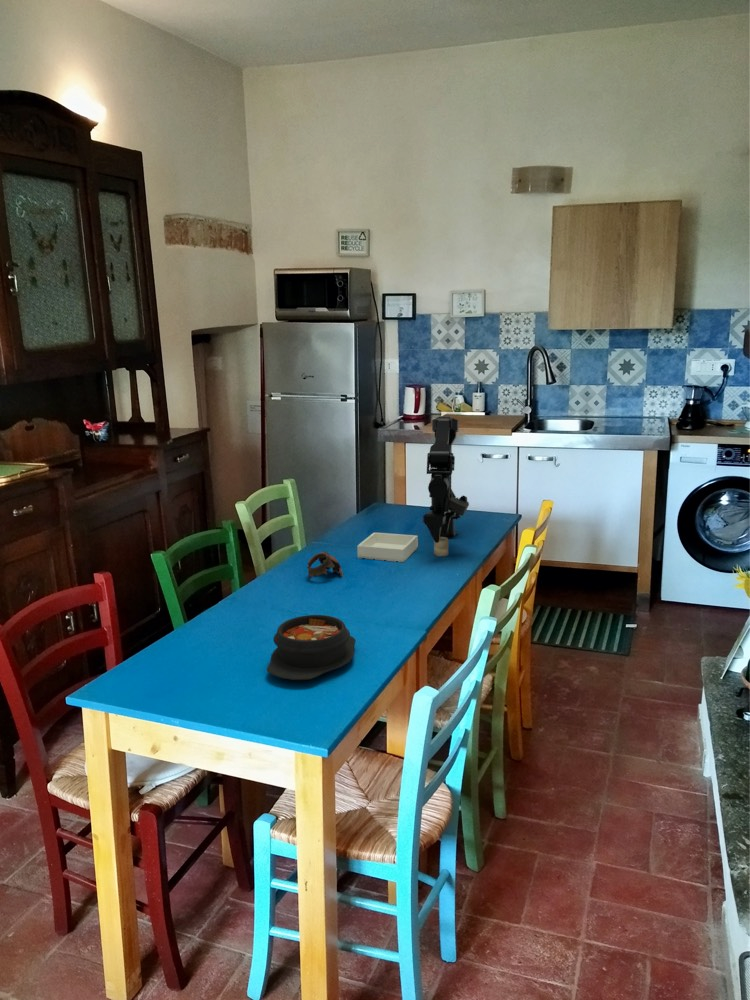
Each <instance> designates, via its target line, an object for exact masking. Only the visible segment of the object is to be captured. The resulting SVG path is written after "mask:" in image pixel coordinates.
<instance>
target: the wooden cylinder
mask: <svg viewBox="0 0 750 1000" xmlns="http://www.w3.org/2000/svg"><path fill="white" fill-rule="evenodd" d="M433 554H434V556H435V555H436V556H435V557H441V556H442V557H447V556H449V538H446V537H440V539H439V542H438V543H436V542H435V541H434V540H433Z"/></svg>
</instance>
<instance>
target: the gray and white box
mask: <svg viewBox="0 0 750 1000" xmlns="http://www.w3.org/2000/svg"><path fill="white" fill-rule="evenodd" d="M418 537H419V536H418V535H414V534H399V533H389V532H388V533H387V532H375V531H374V532H373V533H372V534H370V535H369V536H368V537H366V538H365V539H364V540H363V541H361V542H360V543H359V544H358V545H357V546H356V547H357V559H362V558H365V559H364V560H373V559H375V560H374V561H384V560H386V561H385V562H396V561H398V563H405V562H406V560H407V559H408V558H409V557H410V556H411V555H413V554H414V552H415V551H417V550H418V548H419V538H418Z"/></svg>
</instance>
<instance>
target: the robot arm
mask: <svg viewBox="0 0 750 1000" xmlns="http://www.w3.org/2000/svg"><path fill="white" fill-rule="evenodd" d="M431 423H432V425H431V429H432V432H433V433H434V443H433V444H432V445H430V448H429V452H428V453H427V455H426V456H427V457H426V458H427V459H426V475H431V476H430V480H429V483H428V487H427V489H428V493H429V498H430V500H431V505H430V506H429V510H428V511H427V512H426V513H425V514H424V515H422V522H423V524H424V525H425V526H426V528H427V529H428V531H429V533H430V535H431V537H432V539H433V542H434V541H435V542H436V543H438V542H439V539H440V537H446V538H448V539H454V537H455V536H456V535H457V534H458V531H457V530H455V520H458V519H460V518H461V516H464V515H465V514H466V513H467V510H468V507H470V502H469V501H468V497H467V496H465V495H461V496H460V497H457V496H456V494H455V492H454V491H453V489H452V475H453V472H454V471H455V462H456V461H455V459H456V456H454V453H453V452H452V451H453V449H452V447H453V446H452V445H453V444H454V443H455V440H456V439H457V433H459V420H458V419H456V418H454V417H453V418H452V417H451V416H437V417H436V418H434V419H432V422H431Z"/></svg>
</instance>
